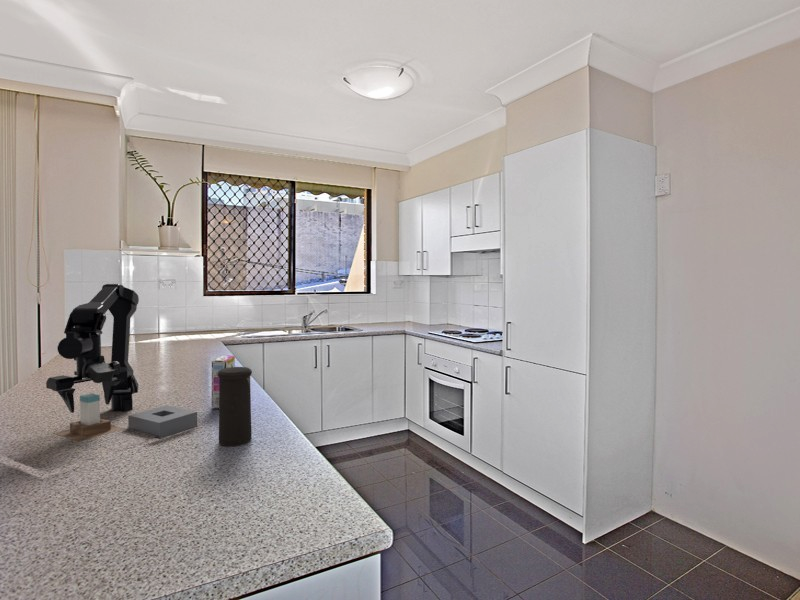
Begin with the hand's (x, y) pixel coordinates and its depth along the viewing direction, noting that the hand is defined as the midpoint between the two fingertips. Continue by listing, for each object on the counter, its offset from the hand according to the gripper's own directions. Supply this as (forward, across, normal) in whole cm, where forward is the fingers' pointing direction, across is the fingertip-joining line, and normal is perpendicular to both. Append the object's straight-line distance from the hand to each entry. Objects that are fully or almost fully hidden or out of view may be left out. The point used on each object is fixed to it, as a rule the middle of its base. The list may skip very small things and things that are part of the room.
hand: (90, 408), depth 129 cm
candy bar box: (+8, +39, -8) cm, 40 cm away
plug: (+6, 0, 0) cm, 6 cm away
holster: (+7, 0, 0) cm, 7 cm away
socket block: (+7, +13, -13) cm, 20 cm away
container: (+8, +16, -39) cm, 43 cm away
